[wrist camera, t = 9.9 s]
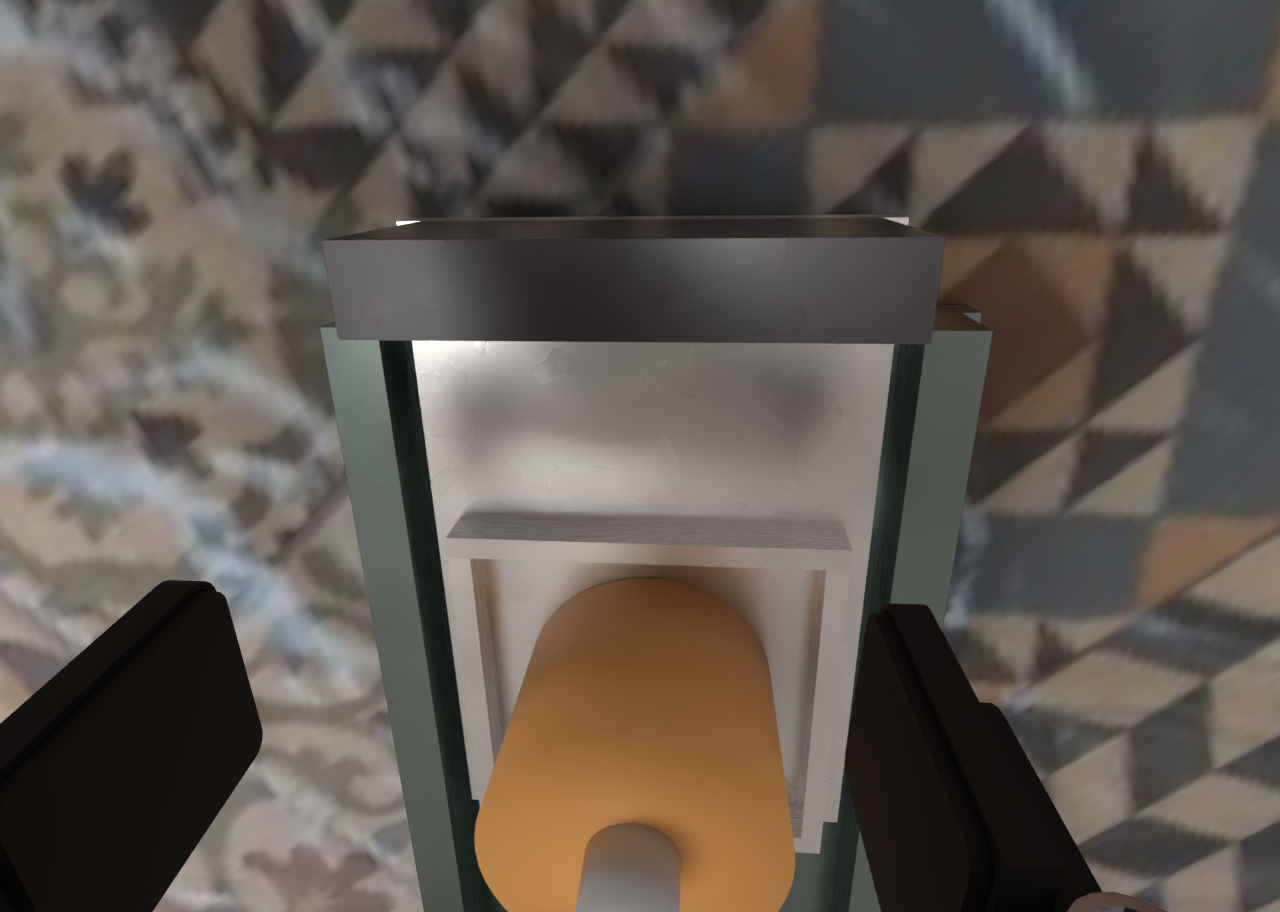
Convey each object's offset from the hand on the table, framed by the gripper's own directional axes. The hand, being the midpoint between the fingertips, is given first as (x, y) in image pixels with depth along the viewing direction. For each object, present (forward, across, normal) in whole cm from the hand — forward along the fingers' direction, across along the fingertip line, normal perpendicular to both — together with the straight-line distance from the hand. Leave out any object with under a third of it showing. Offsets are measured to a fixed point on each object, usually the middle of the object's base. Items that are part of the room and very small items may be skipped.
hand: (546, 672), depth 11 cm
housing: (+6, -1, +5) cm, 8 cm away
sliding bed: (+7, -1, +2) cm, 8 cm away
